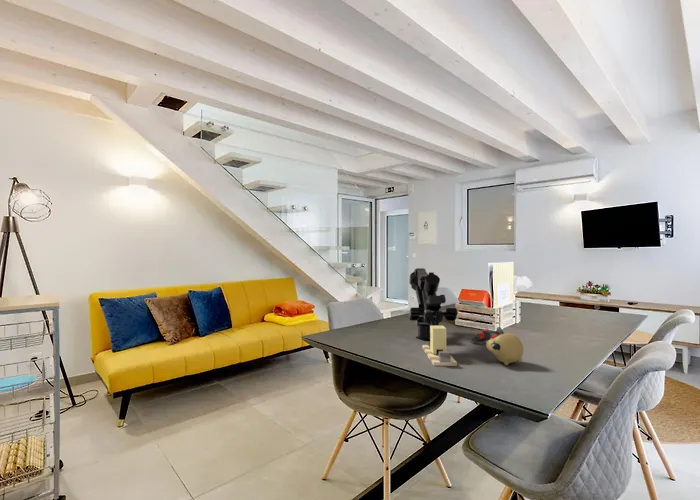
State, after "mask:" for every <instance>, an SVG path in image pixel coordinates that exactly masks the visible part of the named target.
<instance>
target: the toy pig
mask: <svg viewBox="0 0 700 500" xmlns="http://www.w3.org/2000/svg"><path fill="white" fill-rule="evenodd" d="M485 341H486V343H485V346H486V349H487V350H488V351H489V352H490V353H491V354H492V355H493V356H494V358H495V359H496V360H498V361H499V362H501V363H503V364H504V365H505V366H506V365H507V366H509V364H511V363H512V364H513V363H515V362H519V363H522V362H523V358H522V357H523V355H524V350H525V349H524V348H525V347H524V344H523V342H522V341H521V339H520V338H519V337H518V336H517V335H516V334H514V333H511V332H507V333H504V334H501V335H499V336H497V337H495V338H493V339H492V338H491V339H488V340H485Z"/></svg>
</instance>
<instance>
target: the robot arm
mask: <svg viewBox="0 0 700 500" xmlns="http://www.w3.org/2000/svg"><path fill="white" fill-rule="evenodd" d="M440 282H441V279H440V277H439V276H438V275H436V274H435V272H427V271H426V268H425V267H424V268H423V267H422V268H421V267H420V268H419V267H418V268H415V269H414V270H413V272H411V273H410V275H409V285H410V287H411V289H412V290H414V291H415V295H416V300H417V304H418V306H417V307H416V306H414V307H410V308H409V313H408V315H409V316H408V317H409V321H415V325H416V327H418V328H417V329H418V332H417V333H418V334H417V336H415V338H416V339H418V340H421V341H430V326H440V325H439V324H440V323H442V322H443V319H445V320H446V321H448V322H449V321H450V322H453V321H456V319H457V316H458V314H459V311H458V308H456V307H446V309H445V310H441V308H442V304H445V303H446V302H447V299H446V295H445V294H440V295H437V292H438V290H439V287H440Z"/></svg>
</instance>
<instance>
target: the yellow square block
mask: <svg viewBox="0 0 700 500" xmlns="http://www.w3.org/2000/svg"><path fill="white" fill-rule="evenodd" d="M429 342H430V350H431V352H432V353H433V354H436V349H440V350H441V351H446V350H447V328H446V327H445V326H444V325H438V326H430V340H429Z"/></svg>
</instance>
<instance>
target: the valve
mask: <svg viewBox="0 0 700 500" xmlns="http://www.w3.org/2000/svg"><path fill="white" fill-rule="evenodd" d="M501 334H505V333H504V331H503V329H502V327H499V326H497V328H496V330H490V329H488V328H484V329H483V330H481V332H477V334H475V335H474V337H471V339H470V342H471V343H473V344H475V345H476V344H477V345H483V344H486V341H487V340H488V339H491V338H492V339H493V338H495V337H497V336H499V335H501ZM480 341H481V342H480Z"/></svg>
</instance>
